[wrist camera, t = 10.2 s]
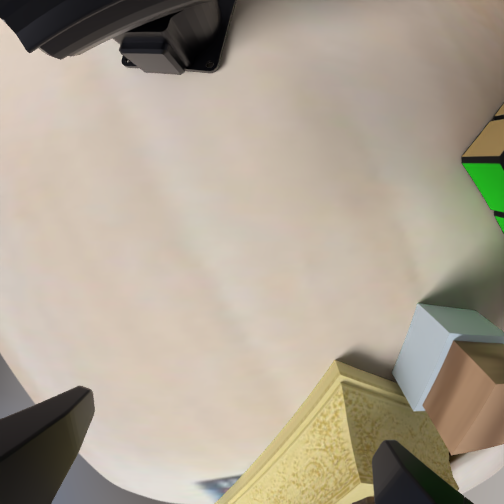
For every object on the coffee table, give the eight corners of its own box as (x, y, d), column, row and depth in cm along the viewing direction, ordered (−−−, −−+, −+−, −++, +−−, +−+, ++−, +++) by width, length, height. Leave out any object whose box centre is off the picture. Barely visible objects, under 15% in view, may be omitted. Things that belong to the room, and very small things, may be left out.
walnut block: (422, 405, 17) (451, 455, 12) (453, 340, 16) (496, 384, 11) (472, 402, 17) (503, 444, 12) (502, 343, 16) (543, 379, 11)
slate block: (417, 302, 21) (449, 333, 16) (474, 309, 21) (509, 336, 16) (391, 372, 22) (413, 411, 17) (448, 373, 22) (474, 406, 17)
